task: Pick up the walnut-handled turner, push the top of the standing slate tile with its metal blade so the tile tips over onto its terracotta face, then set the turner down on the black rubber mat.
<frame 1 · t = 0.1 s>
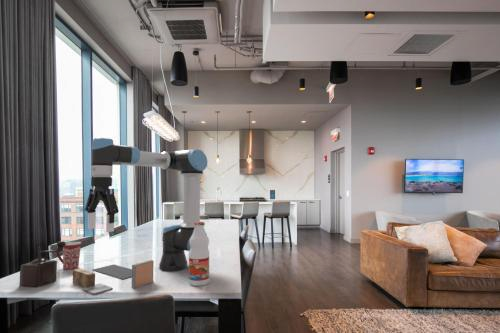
hand: (100, 230, 116), 28 cm above the table, tool pointing down, fingers open, 13 cm apart
tile: (142, 284, 134), on the table
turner: (89, 286, 132), on the table
mug: (68, 268, 161), on the table
manual coffee grinder: (43, 281, 140), on the table
fruit juice: (199, 283, 136), on the table
mat: (117, 271, 154), on the table
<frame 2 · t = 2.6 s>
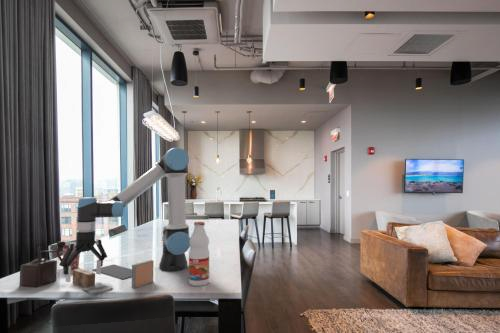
hand: (83, 277, 134), 3 cm above the table, tool pointing down, fingers open, 13 cm apart
nothing on the table moved.
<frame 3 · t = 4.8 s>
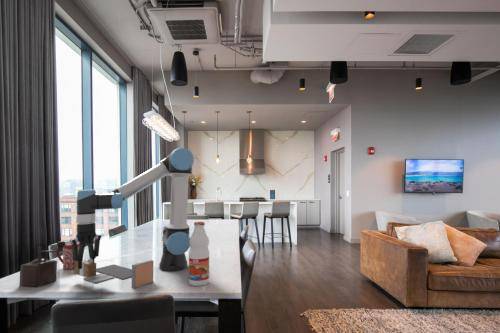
hand: (86, 274, 134), 5 cm above the table, tool pointing down, fingers closed on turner, 3 cm apart
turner: (90, 276, 132), point 4 cm above the table, touching gripper
everything else where it was.
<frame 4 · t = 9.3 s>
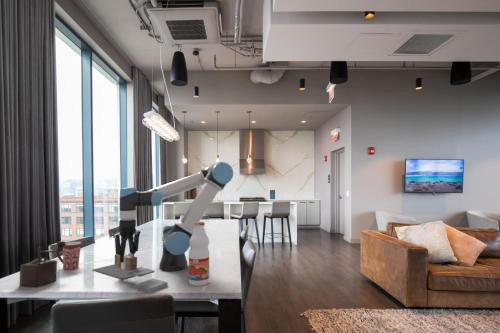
hand: (126, 267, 141), 6 cm above the table, tool pointing down, fingers closed on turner, 3 cm apart
tile: (144, 283, 133), point 1 cm above the table, tilted 90°
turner: (131, 270, 139), point 5 cm above the table, touching gripper
everything else where it was.
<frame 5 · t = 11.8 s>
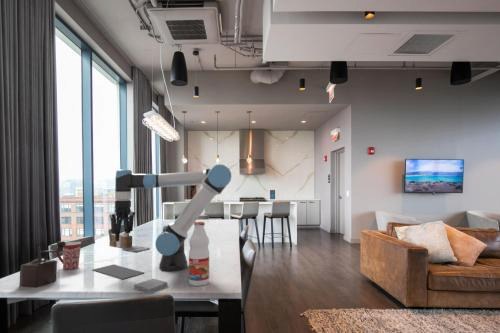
hand: (121, 246, 148), 15 cm above the table, tool pointing down, fingers closed on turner, 3 cm apart
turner: (126, 248, 145), point 14 cm above the table, touching gripper
everything else where it was.
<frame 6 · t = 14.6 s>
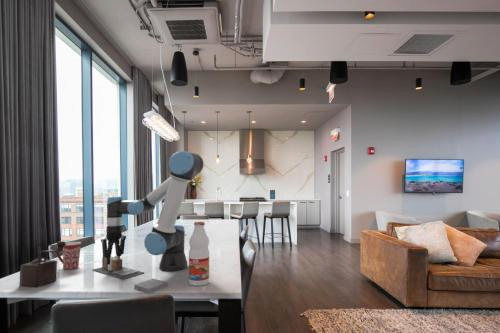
hand: (113, 269, 156), 1 cm above the table, tool pointing down, fingers closed on mat, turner, 3 cm apart
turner: (117, 270, 154), resting on mat, touching gripper
everything else where it was.
when the fingers open (1 cm above the table, at t = 15.9 s): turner stays where it is, resting on mat.
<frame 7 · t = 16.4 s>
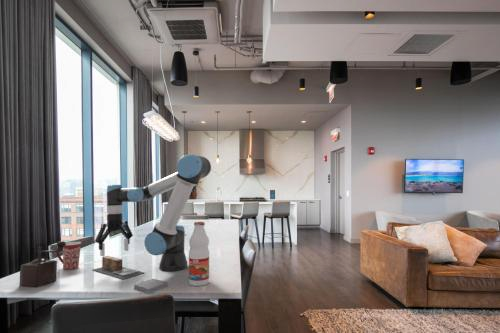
hand: (114, 253, 156), 9 cm above the table, tool pointing down, fingers open, 13 cm apart
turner: (117, 270, 154), resting on mat
everything else where it was.
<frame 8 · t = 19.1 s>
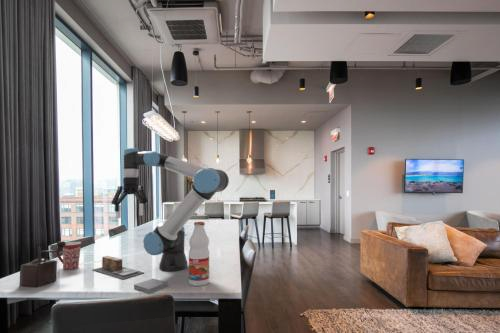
hand: (130, 216, 157), 29 cm above the table, tool pointing down, fingers open, 13 cm apart
nothing on the table moved.
at the end: tile tilted 90°; tile inside the target area (2.7 cm from its centre), point 0.7 cm above the table; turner inside the target area on the mat (0.3 cm from its centre), point 0.4 cm above the mat's base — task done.
